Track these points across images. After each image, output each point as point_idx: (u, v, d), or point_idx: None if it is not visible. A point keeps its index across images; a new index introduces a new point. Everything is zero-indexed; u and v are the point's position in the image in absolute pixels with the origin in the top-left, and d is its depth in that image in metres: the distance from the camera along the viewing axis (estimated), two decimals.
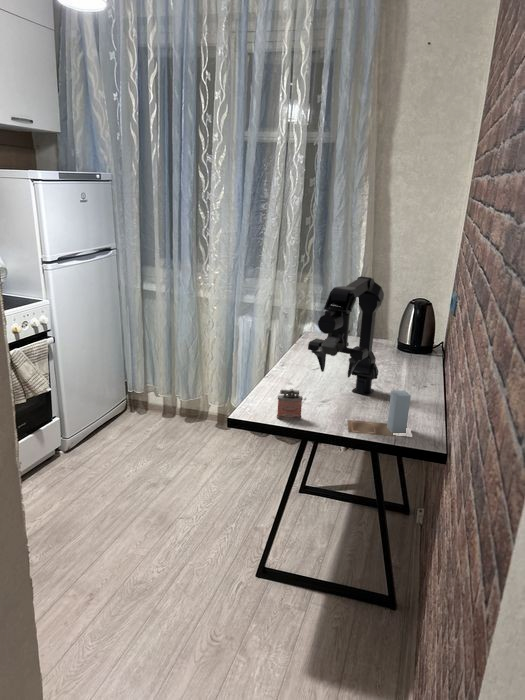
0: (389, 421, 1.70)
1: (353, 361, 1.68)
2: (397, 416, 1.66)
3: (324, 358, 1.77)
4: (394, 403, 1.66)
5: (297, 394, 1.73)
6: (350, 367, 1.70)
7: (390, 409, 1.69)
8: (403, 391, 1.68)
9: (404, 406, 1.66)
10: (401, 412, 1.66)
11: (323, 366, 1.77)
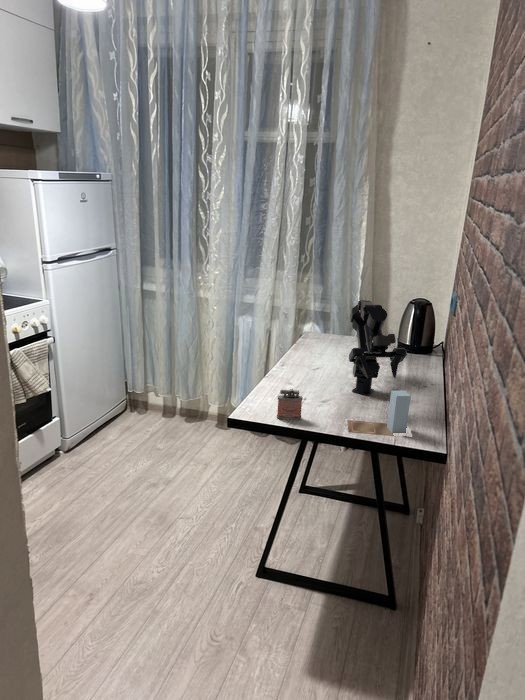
0: (389, 421, 1.70)
1: (399, 357, 1.80)
2: (397, 416, 1.66)
3: None
4: (394, 403, 1.66)
5: (297, 394, 1.73)
6: (396, 365, 1.80)
7: (390, 409, 1.69)
8: (403, 391, 1.68)
9: (404, 406, 1.66)
10: (401, 412, 1.66)
11: None
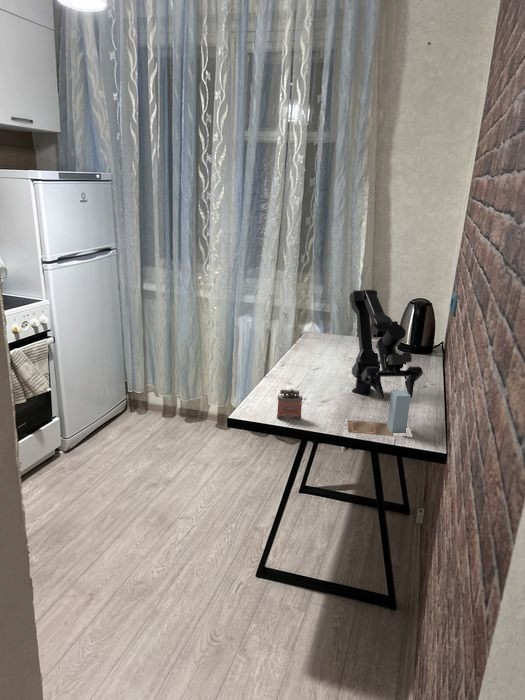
0: (389, 421, 1.70)
1: (415, 376, 1.72)
2: (397, 416, 1.66)
3: None
4: (394, 403, 1.66)
5: (297, 394, 1.73)
6: (412, 385, 1.71)
7: (390, 409, 1.69)
8: (403, 391, 1.68)
9: (404, 406, 1.66)
10: (401, 412, 1.66)
11: None
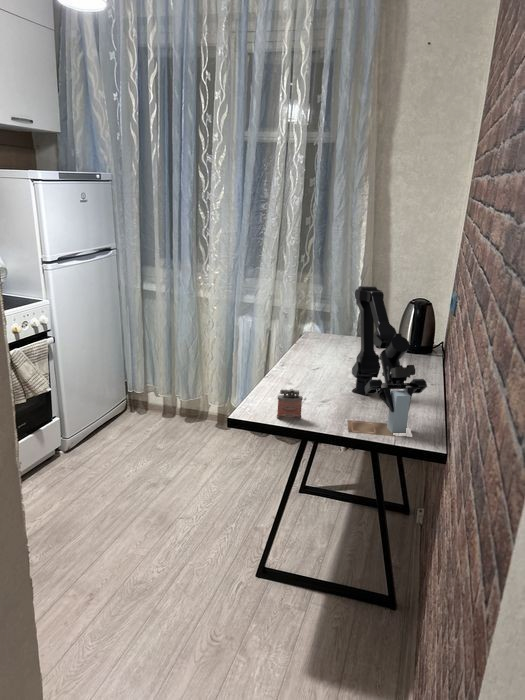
0: (389, 421, 1.70)
1: (413, 389, 1.68)
2: (397, 416, 1.66)
3: None
4: (394, 403, 1.66)
5: (297, 394, 1.73)
6: None
7: None
8: (403, 391, 1.68)
9: (404, 406, 1.66)
10: (401, 412, 1.66)
11: None
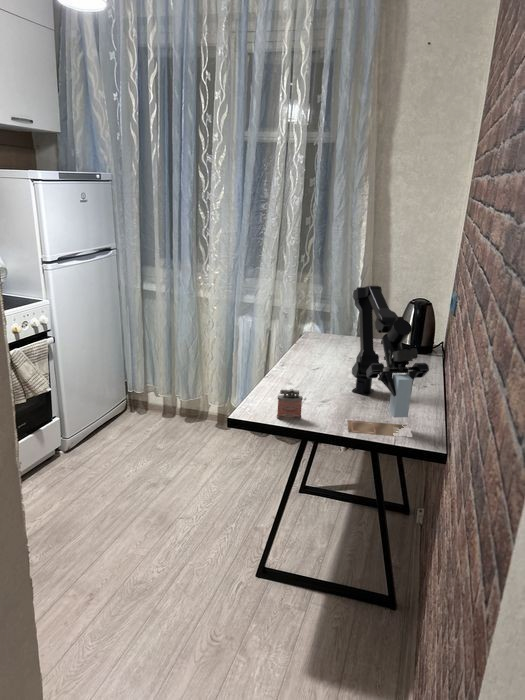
0: (391, 405, 1.69)
1: (415, 373, 1.67)
2: (399, 399, 1.65)
3: None
4: (396, 387, 1.64)
5: (297, 394, 1.73)
6: None
7: None
8: (405, 375, 1.67)
9: (406, 389, 1.64)
10: (403, 396, 1.65)
11: None
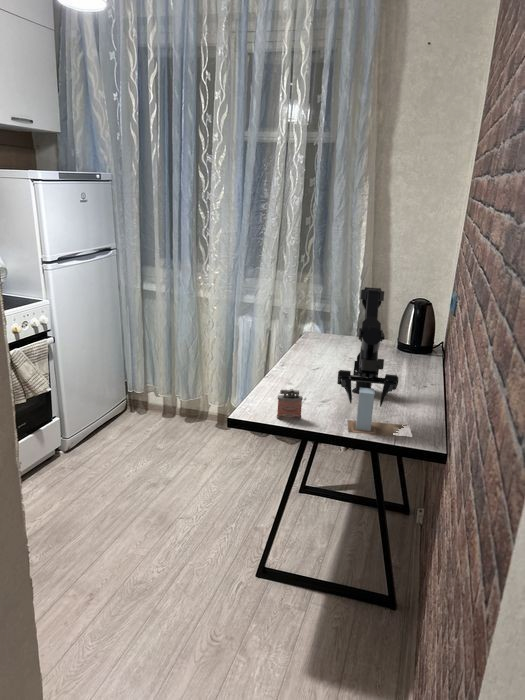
0: None
1: (389, 384, 1.67)
2: (361, 412, 1.68)
3: None
4: (358, 399, 1.68)
5: (297, 394, 1.73)
6: (384, 393, 1.68)
7: None
8: (371, 389, 1.69)
9: (367, 403, 1.67)
10: (365, 409, 1.67)
11: (351, 397, 1.69)
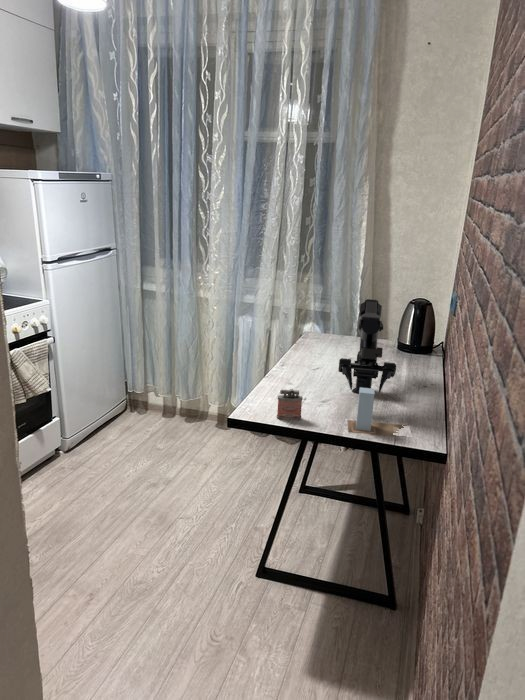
0: None
1: (387, 372, 1.77)
2: (361, 412, 1.68)
3: None
4: (358, 399, 1.68)
5: (297, 394, 1.73)
6: (382, 380, 1.77)
7: None
8: (371, 389, 1.69)
9: (367, 403, 1.67)
10: (365, 409, 1.67)
11: None
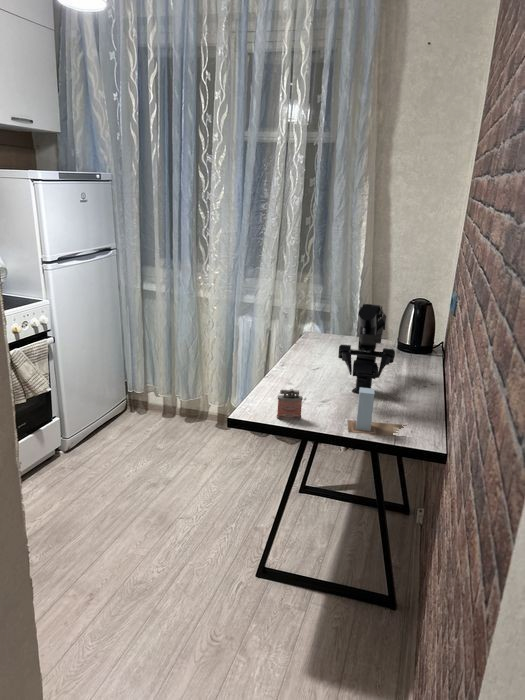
0: None
1: (386, 357, 1.81)
2: (361, 412, 1.68)
3: None
4: (358, 399, 1.68)
5: (297, 394, 1.73)
6: (381, 365, 1.81)
7: None
8: (371, 389, 1.69)
9: (367, 403, 1.67)
10: (365, 409, 1.67)
11: (351, 369, 1.82)
